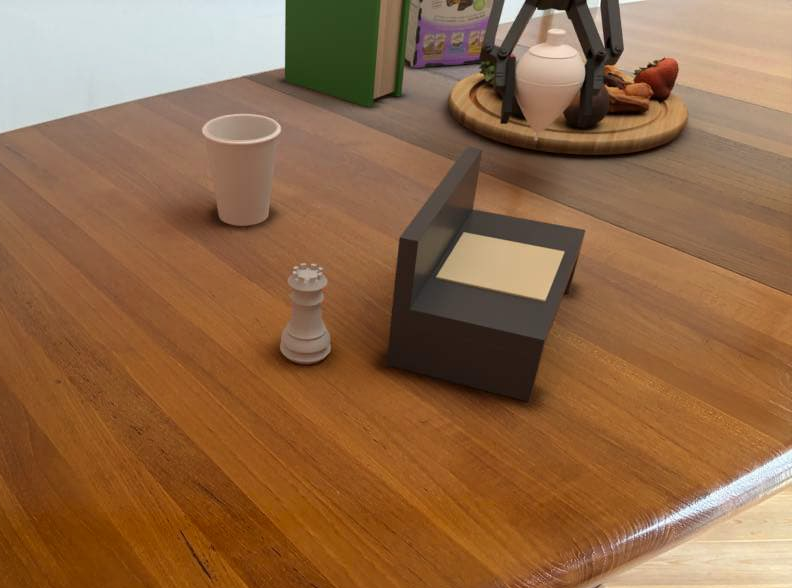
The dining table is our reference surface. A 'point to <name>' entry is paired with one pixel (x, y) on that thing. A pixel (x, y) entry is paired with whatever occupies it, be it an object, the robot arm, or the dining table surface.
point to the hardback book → (347, 47)
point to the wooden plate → (607, 127)
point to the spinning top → (548, 80)
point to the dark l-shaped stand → (477, 289)
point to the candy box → (446, 32)
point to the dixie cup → (242, 165)
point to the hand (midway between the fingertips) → (544, 119)
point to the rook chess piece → (306, 318)
